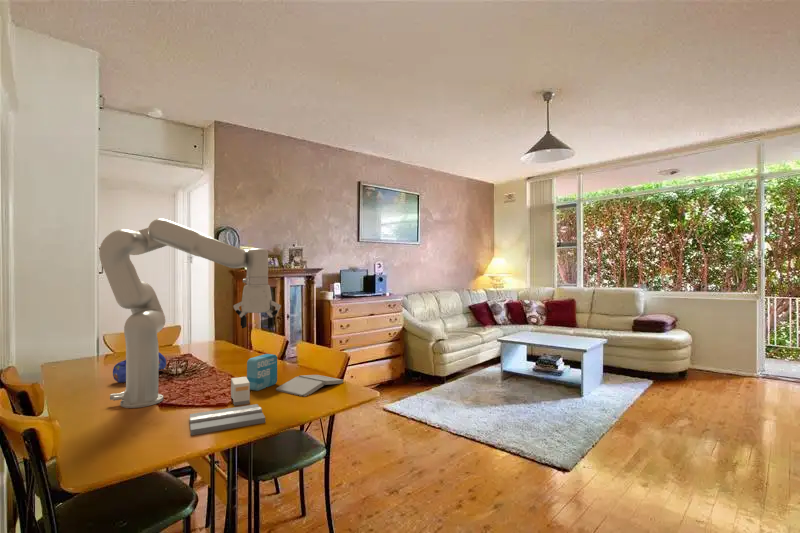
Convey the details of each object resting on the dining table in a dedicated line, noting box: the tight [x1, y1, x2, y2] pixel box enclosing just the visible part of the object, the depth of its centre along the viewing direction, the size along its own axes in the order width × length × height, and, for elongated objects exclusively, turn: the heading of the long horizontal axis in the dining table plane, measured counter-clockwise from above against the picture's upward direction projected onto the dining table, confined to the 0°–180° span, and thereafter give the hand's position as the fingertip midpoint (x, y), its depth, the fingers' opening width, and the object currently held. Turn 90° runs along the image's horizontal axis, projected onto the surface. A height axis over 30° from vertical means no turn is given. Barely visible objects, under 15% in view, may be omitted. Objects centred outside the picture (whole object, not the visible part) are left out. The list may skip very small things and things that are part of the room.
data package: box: [246, 353, 278, 392], centre depth 160 cm, size 12×4×12 cm, turn 156°
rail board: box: [189, 403, 266, 436], centre depth 124 cm, size 20×14×2 cm
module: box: [230, 376, 251, 407], centre depth 142 cm, size 5×9×7 cm, turn 29°
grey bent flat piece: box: [275, 374, 344, 398], centre depth 161 cm, size 23×15×4 cm, turn 148°
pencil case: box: [112, 352, 167, 383], centre depth 174 cm, size 22×9×10 cm, turn 171°
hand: (257, 327), depth 151 cm, fingers open, 9 cm apart
